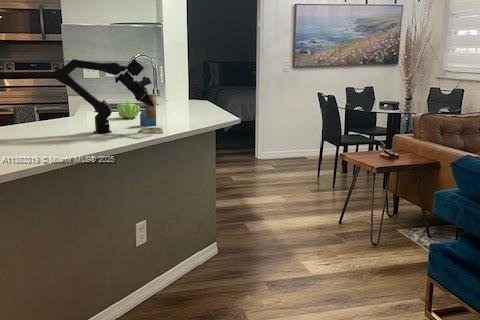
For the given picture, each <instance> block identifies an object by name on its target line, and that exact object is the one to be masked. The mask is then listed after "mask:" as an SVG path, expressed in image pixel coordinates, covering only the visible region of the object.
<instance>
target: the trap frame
mask: <svg viewBox="0 0 480 320" xmlns="http://www.w3.org/2000/svg"><path fill="white" fill-rule="evenodd" d="M139 130H140V131H139V133H142V134H149V135H153V134H164V132H163V127H161V126H160V127H159V126H158V127H157V126H152V127H140V129H139Z"/></svg>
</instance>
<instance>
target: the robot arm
mask: <svg viewBox="0 0 480 320" xmlns="http://www.w3.org/2000/svg"><path fill="white" fill-rule="evenodd" d="M76 69H83V70H84V69H85V70H92V71H101V72H104V73H106V74H108V75H112V76H116V77H114V80H115V81H114V82H115V84H118V82H120V83H121V84H122V85H123V86H124V87H125V88H127V90H128V91H130V92H131V93H132V94H133V96H134V99H135V100H136V101H137V102H141V103H143V104H144V105H145V104H148V105H150V106H152V107H153V106H154V104H153V103H152V101H151V100H150V98H149V97H148V94H149V92H148V88H147V87H146V86H149V85H151V84H152V80H151V79H150V76H148V77H147V76H142V79H141V80H139V81H138V80H137V79H135V78H134V77H138V76H139V75H140V74H141V72H143V70H145V67H144V66H143V64H141V63H140V62H139V61H138V60H136V59H135V58H133V59H132V60H131V61H130V62H129V63H128V64H127V65H121V64H120V63H118V62H96V61H89V60H82V59H77V58H74V59H72V60H70V61H69V62H68V63H67V64H66V65H64V66H62V67H60V68H57V69H55V70H54V71H53V78H54V79H55V80H56V81H58V82H60V83H61V84H64V85H66V86H67V87H69V88H70V89H72V90H73V91H74V92H75V93H76V94H77V95H78V96H80V97H81V98H82V99H83V100H85V101H86V102H87V103H89V105H91V106H92V107H93V108H94V111H96V115H95V116H94V126H95V130H94V131H93V133H95V134H101V135H102V134H108V133H111V132H112V130H111V128H110V120H108V118H109V117H110V116H111V115H112V112H113V108H112V107H111V104H110V103H108V102H107V101H106V100H105V99H103V100H99V99H98V98H97V97H96V96H94V95H93V94H92V93H91V92H90V91H88V90H87V89H86V88H85V87H83V86H82V85H81V84H80V83H78V81H76V79H75V78H74V77H73V75H72V74H71V73H72V72H73V71H75V70H76ZM123 72H124V73H123ZM117 75H118V76H117Z"/></svg>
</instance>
